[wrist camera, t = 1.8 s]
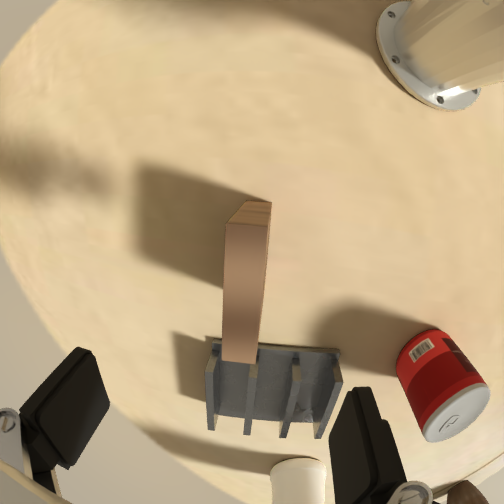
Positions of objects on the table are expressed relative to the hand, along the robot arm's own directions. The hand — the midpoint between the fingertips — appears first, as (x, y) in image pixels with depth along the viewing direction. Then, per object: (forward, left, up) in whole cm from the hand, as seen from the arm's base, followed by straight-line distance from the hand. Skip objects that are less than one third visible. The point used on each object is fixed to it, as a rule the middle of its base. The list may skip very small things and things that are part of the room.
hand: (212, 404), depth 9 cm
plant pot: (+70, +69, -18) cm, 100 cm away
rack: (+16, +3, -18) cm, 24 cm away
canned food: (+11, +21, -18) cm, 30 cm away
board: (0, 0, -18) cm, 18 cm away
